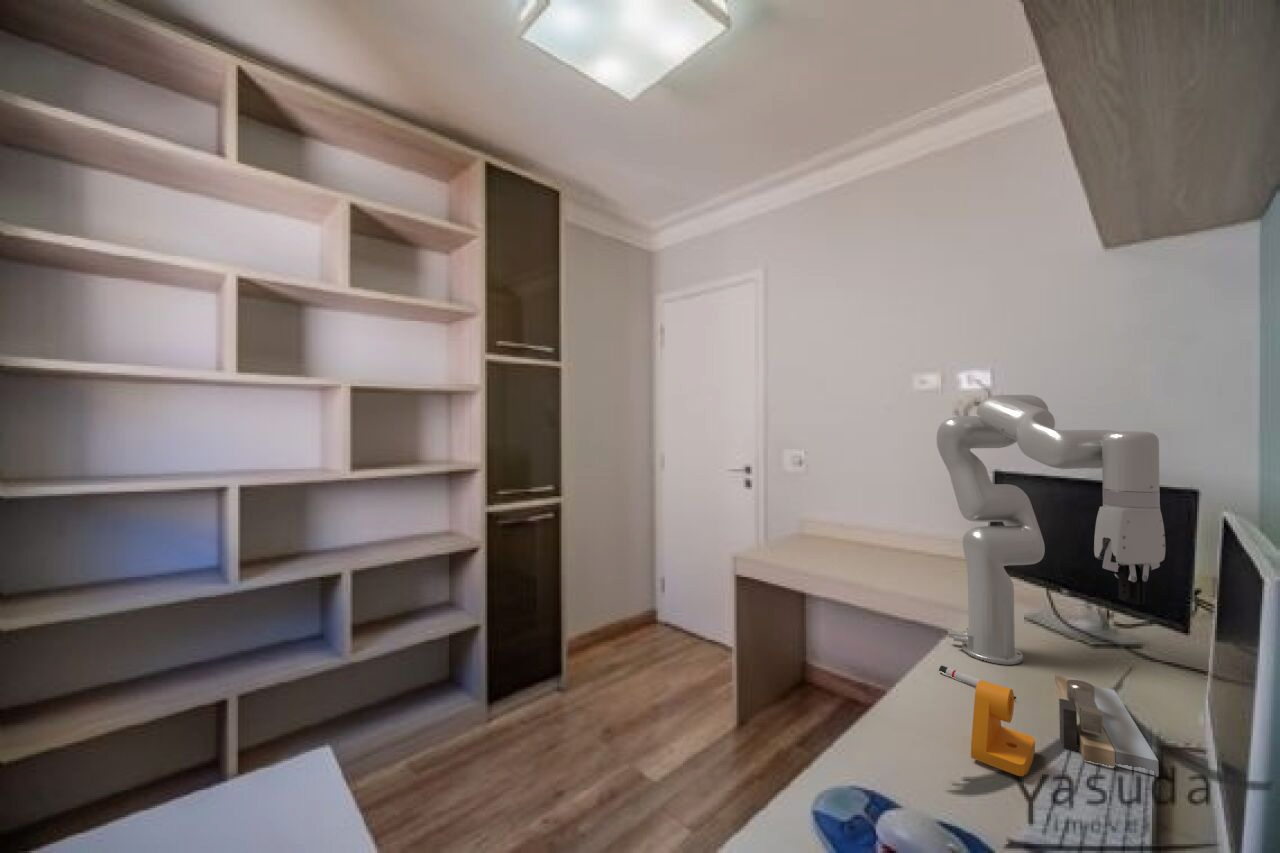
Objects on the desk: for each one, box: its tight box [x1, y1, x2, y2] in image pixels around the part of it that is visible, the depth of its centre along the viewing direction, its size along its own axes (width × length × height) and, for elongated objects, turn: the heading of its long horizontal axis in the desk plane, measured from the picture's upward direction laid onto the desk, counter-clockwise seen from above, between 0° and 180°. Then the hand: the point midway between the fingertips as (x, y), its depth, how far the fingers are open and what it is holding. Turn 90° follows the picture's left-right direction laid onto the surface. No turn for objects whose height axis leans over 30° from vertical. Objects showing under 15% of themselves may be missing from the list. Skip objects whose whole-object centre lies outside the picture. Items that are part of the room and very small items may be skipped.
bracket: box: [970, 679, 1036, 777], centre depth 90 cm, size 11×7×12 cm, turn 134°
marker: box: [938, 665, 1017, 700], centre depth 114 cm, size 15×2×2 cm, turn 32°
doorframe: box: [1054, 674, 1160, 778], centre depth 99 cm, size 12×28×7 cm, turn 149°
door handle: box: [1067, 679, 1103, 736], centre depth 95 cm, size 14×4×4 cm, turn 147°
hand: (1131, 601), depth 94 cm, fingers closed
